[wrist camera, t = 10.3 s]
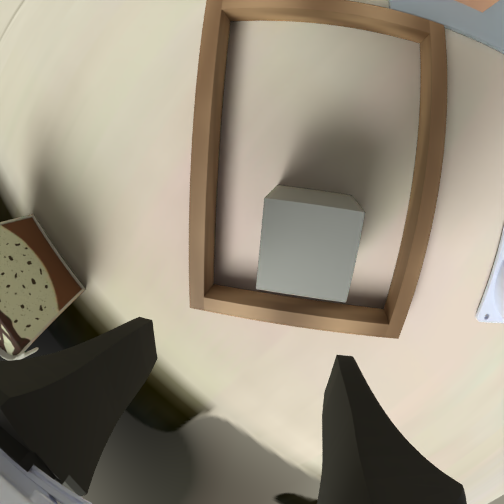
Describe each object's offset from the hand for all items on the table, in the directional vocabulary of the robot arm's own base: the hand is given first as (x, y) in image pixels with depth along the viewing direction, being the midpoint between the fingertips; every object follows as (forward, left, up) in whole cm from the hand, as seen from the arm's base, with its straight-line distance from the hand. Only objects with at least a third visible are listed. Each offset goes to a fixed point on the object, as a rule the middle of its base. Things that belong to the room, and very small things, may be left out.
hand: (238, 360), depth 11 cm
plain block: (-2, -3, -10) cm, 10 cm away
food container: (+22, +4, -10) cm, 24 cm away
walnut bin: (-2, -7, -9) cm, 12 cm away
